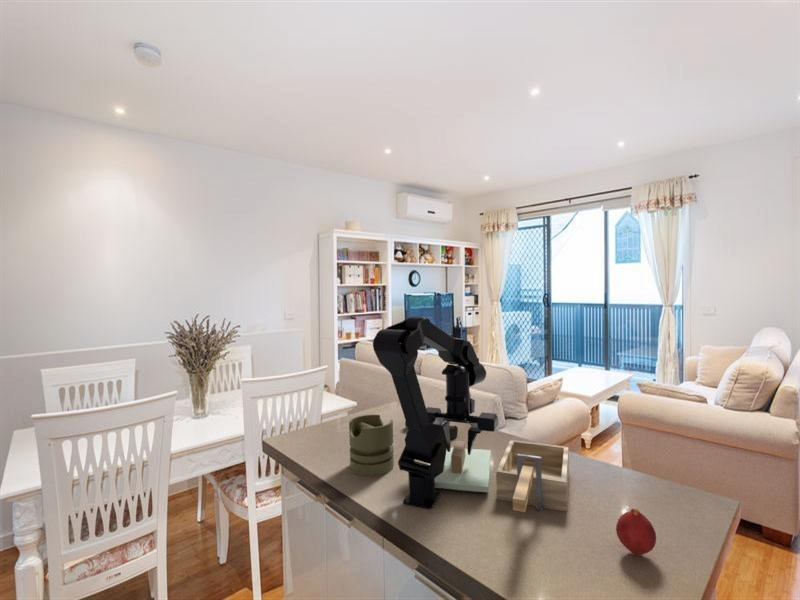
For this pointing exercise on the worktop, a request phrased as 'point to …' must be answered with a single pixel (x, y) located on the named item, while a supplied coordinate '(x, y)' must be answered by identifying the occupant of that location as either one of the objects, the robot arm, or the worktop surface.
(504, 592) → the worktop surface
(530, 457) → the bracket
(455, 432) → the hand tool
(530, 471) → the tan rectangular bar
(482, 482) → the lid
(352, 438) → the piston
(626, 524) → the onion
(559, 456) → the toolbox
